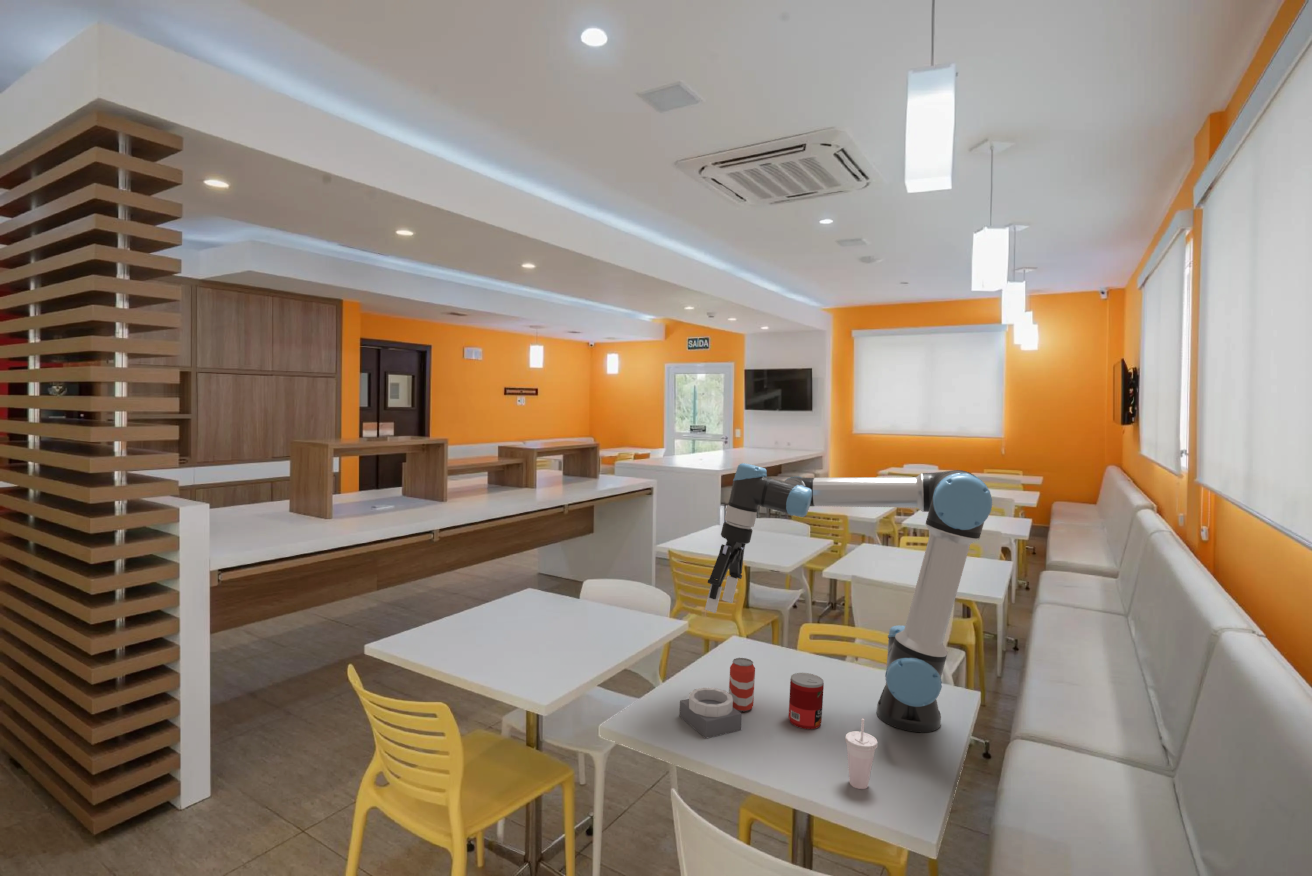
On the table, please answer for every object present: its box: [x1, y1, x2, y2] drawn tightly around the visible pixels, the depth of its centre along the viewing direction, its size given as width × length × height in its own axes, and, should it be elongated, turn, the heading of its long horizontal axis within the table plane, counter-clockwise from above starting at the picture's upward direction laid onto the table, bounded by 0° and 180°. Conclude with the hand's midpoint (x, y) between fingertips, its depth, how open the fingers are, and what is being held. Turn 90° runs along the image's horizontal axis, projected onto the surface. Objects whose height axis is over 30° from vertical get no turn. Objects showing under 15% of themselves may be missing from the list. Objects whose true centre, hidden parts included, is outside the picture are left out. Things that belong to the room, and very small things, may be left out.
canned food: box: [788, 672, 825, 730], centre depth 166 cm, size 8×8×11 cm
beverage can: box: [728, 657, 756, 712], centre depth 173 cm, size 6×6×12 cm
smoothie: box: [844, 718, 878, 790], centre depth 140 cm, size 6×6×14 cm
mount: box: [678, 687, 743, 739], centre depth 164 cm, size 12×10×6 cm
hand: (719, 606), depth 171 cm, fingers open, 13 cm apart
